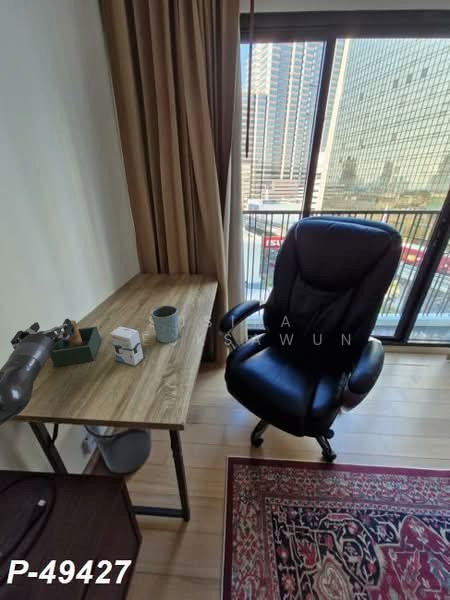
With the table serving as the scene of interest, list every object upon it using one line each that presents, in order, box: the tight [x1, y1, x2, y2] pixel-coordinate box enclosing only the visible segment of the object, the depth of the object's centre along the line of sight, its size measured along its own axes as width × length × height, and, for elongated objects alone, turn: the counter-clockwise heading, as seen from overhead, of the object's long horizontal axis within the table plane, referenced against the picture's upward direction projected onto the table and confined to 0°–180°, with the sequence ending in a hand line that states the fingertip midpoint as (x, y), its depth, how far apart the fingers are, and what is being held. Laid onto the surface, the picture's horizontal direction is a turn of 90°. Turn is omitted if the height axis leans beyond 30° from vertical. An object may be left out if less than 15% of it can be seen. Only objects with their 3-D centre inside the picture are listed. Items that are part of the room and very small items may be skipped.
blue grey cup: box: [150, 305, 179, 344], centre depth 101 cm, size 10×10×12 cm
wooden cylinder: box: [69, 319, 84, 348], centre depth 92 cm, size 4×4×12 cm
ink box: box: [109, 326, 144, 367], centre depth 88 cm, size 8×5×12 cm, turn 68°
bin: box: [49, 326, 101, 368], centre depth 93 cm, size 13×14×6 cm
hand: (53, 322), depth 78 cm, fingers open, 8 cm apart
